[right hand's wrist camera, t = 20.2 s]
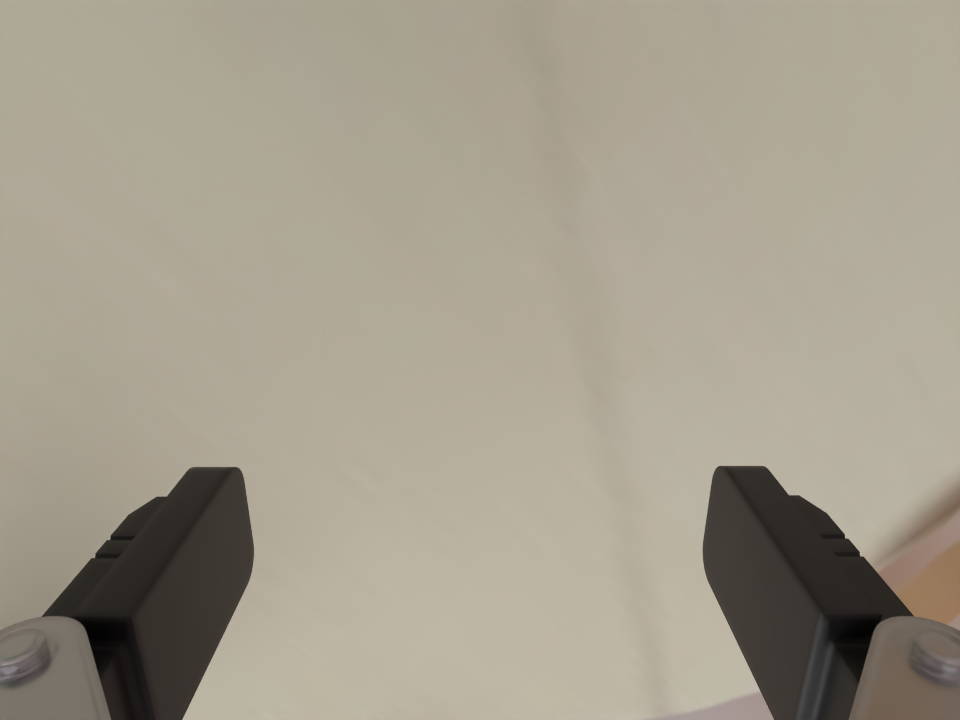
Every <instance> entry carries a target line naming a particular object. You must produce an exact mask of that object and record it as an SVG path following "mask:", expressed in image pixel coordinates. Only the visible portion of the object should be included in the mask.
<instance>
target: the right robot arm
mask: <svg viewBox="0 0 960 720" xmlns="http://www.w3.org/2000/svg"><path fill="white" fill-rule="evenodd" d="M253 559H254V545H253V538H252V531H251V524H250V517H249V510H248V503H247V496H246V489H245V483H244V477H243V474H242V472H241V470H240V469H239V468H237V467H192V468H190V469H189V470H188V471H187V472H186V473H185V475H184V476H183V477H182V478H181V480H180V481H179V482H178V483H177V485H176V486H175V487H174V488H173V490H172V491H171V492H170V493H169V495H168V496H167V497H156V498H154V499H153V500H151V501H149V502H148V503H146V504H145V505H143V506H142V507H140V508H139V509H137V510H136V511H134V512H132V513H131V514H129V515H128V516H127V518H126V519H125V520H124V521H123V522H122V523H121V525H120V526H119V527H118V528H117V529H116V530H115V532H114V533H113V534H112V535H111V539H110V540H107V541H106V542H105V543H104V544H103V546H102V547H101V548H100V549H99V550H98V551H97V553H96V556H95V558H91V560H90V561H89V562H88V563H87V564H86V565H85V567H84V568H83V569H82V570H81V571H80V572H79V574H78V575H77V576H76V577H75V578H74V580H73V581H72V582H71V583H70V584H69V585H68V587H67V588H66V589H65V590H64V591H63V592H62V594H61V595H60V596H59V597H58V598H57V599H56V601H55V602H54V603H53V604H52V605H51V606H50V608H49V609H48V610H47V611H46V612H45V613H44V615H43V616H42V617H39V618H34V619H30V620H26V621H23V622H20V623H17V624H14V625H12V626H9V627H7V628H4V629H2V630H0V720H182V719H183V717H184V715H185V713H186V711H187V709H188V706H189V704H190V702H191V700H192V698H193V696H194V694H195V692H196V690H197V688H198V686H199V684H200V682H201V680H202V678H203V675H204V673H205V671H206V669H207V667H208V665H209V663H210V661H211V659H212V657H213V655H214V653H215V651H216V649H217V647H218V644H219V642H220V640H221V638H222V636H223V634H224V632H225V630H226V628H227V626H228V624H229V622H230V620H231V618H232V616H233V613H234V611H235V609H236V607H237V605H238V603H239V601H240V599H241V597H242V595H243V593H244V591H245V589H246V587H247V585H248V582H249V579H250V576H251V572H252V567H253ZM703 562H704V568H705V573H706V576H707V579H708V582H709V584H710V586H711V588H712V590H713V593H714V595H715V597H716V599H717V601H718V603H719V605H720V607H721V609H722V611H723V613H724V616H725V618H726V620H727V622H728V624H729V626H730V628H731V630H732V632H733V634H734V636H735V639H736V641H737V643H738V645H739V647H740V649H741V651H742V653H743V655H744V657H745V659H746V662H747V664H748V666H749V668H750V670H751V672H752V674H753V676H754V678H755V680H756V682H757V685H758V687H759V689H760V691H761V693H762V695H763V697H764V699H765V701H766V703H767V705H768V708H769V710H770V712H771V714H772V716H773V718H774V720H960V630H958V629H956V628H953V627H951V626H948V625H946V624H943V623H940V622H937V621H934V620H930V619H926V618H921V617H914V616H913V615H912V613H911V612H910V611H909V610H908V609H907V607H906V606H905V605H904V604H903V603H902V602H901V600H900V599H899V598H898V597H897V596H896V594H895V593H894V592H893V591H892V590H891V589H890V587H889V586H888V585H887V584H886V583H885V581H884V580H883V579H882V578H881V577H880V576H879V574H878V573H877V572H876V571H875V570H874V568H873V567H872V566H871V565H870V564H869V563H868V561H867V560H866V559H865V558H864V557H860V552H859V551H858V550H857V548H856V547H855V546H854V545H853V544H852V543H851V541H850V540H849V539H845V534H844V533H843V532H842V531H841V530H840V528H839V527H838V526H837V525H836V524H835V522H834V521H833V520H832V519H831V518H830V517H829V515H828V514H827V513H825V512H824V511H822V510H821V509H819V508H818V507H816V506H815V505H813V504H811V503H810V502H808V501H807V500H805V499H804V498H802V497H801V496H799V495H788V494H787V492H786V491H785V490H784V489H783V487H782V486H781V485H780V484H779V482H778V481H777V480H776V478H775V477H774V476H773V475H772V473H771V472H770V471H769V470H768V469H767V468H766V467H764V466H718V467H717V468H716V470H715V472H714V474H713V478H712V484H711V491H710V498H709V505H708V512H707V519H706V526H705V533H704V540H703Z"/></svg>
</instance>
